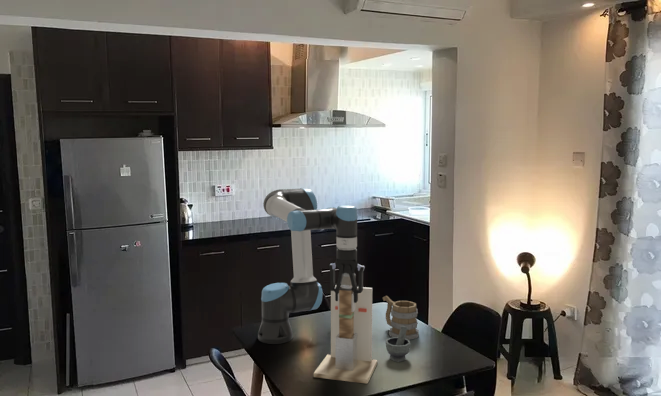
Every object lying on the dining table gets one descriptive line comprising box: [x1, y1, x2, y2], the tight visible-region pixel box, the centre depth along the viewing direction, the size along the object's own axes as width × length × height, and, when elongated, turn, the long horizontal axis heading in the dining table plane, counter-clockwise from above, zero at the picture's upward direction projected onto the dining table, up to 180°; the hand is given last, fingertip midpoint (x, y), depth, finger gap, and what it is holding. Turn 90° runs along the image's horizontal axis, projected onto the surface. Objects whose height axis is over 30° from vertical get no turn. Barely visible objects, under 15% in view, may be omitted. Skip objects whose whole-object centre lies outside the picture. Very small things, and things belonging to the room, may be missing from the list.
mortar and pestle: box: [385, 326, 411, 363], centre depth 215 cm, size 11×9×12 cm
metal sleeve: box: [336, 333, 357, 371], centre depth 203 cm, size 7×7×12 cm
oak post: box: [339, 285, 354, 338], centre depth 202 cm, size 5×5×24 cm
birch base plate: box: [313, 353, 378, 384], centre depth 204 cm, size 20×18×2 cm
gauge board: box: [330, 284, 373, 361], centre depth 209 cm, size 16×2×28 cm, turn 74°
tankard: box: [382, 295, 420, 341], centre depth 244 cm, size 20×13×15 cm, turn 34°
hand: (346, 310), depth 202 cm, fingers closed on oak post, 4 cm apart
